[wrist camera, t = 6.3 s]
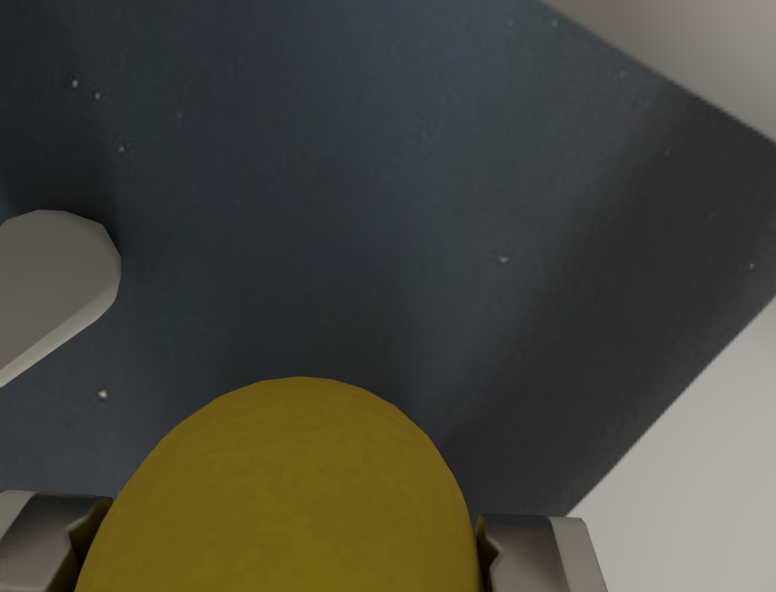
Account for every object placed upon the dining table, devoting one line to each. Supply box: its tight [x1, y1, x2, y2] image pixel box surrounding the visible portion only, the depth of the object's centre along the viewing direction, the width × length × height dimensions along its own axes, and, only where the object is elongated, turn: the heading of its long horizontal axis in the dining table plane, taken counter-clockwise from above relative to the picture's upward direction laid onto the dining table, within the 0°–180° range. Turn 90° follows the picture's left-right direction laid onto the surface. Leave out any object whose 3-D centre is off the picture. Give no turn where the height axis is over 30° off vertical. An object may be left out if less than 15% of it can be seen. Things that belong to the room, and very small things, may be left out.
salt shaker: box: [0, 210, 121, 388], centre depth 24 cm, size 6×6×13 cm
